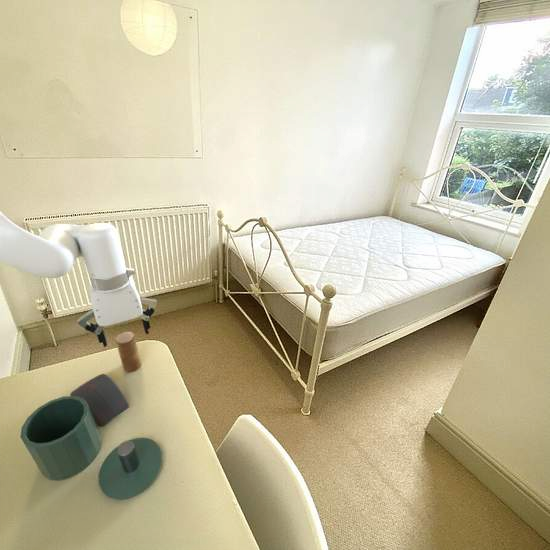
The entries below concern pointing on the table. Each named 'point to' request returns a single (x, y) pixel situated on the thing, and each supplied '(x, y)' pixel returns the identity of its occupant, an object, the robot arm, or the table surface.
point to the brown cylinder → (128, 351)
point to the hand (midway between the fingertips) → (126, 337)
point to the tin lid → (130, 468)
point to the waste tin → (62, 437)
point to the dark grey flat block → (102, 398)
